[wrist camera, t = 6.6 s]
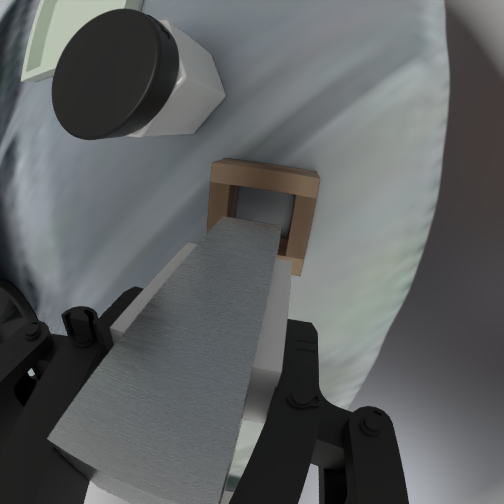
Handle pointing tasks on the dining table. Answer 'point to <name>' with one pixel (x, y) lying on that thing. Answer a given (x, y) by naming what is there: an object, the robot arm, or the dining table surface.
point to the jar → (133, 79)
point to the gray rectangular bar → (178, 377)
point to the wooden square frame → (274, 179)
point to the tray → (61, 31)
